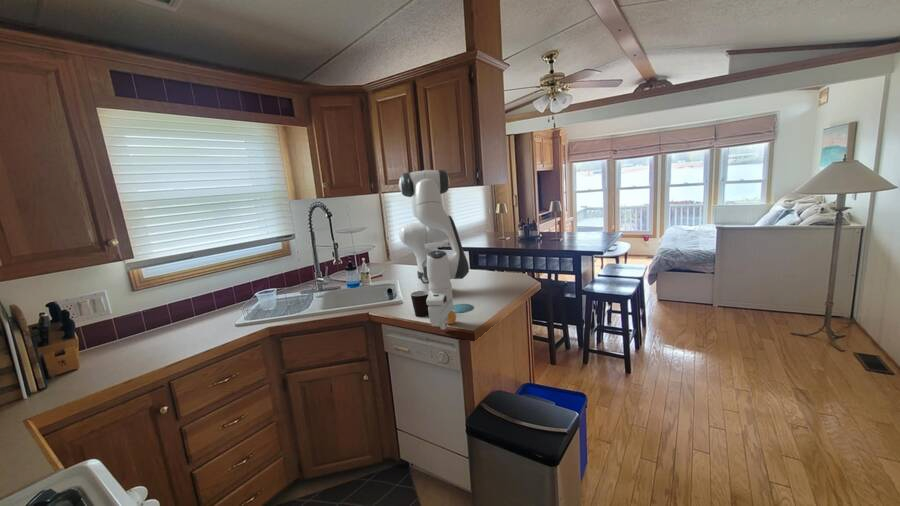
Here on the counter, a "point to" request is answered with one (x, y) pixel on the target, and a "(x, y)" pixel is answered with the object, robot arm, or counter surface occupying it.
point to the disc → (462, 308)
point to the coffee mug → (420, 303)
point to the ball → (451, 318)
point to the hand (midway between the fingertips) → (444, 328)
